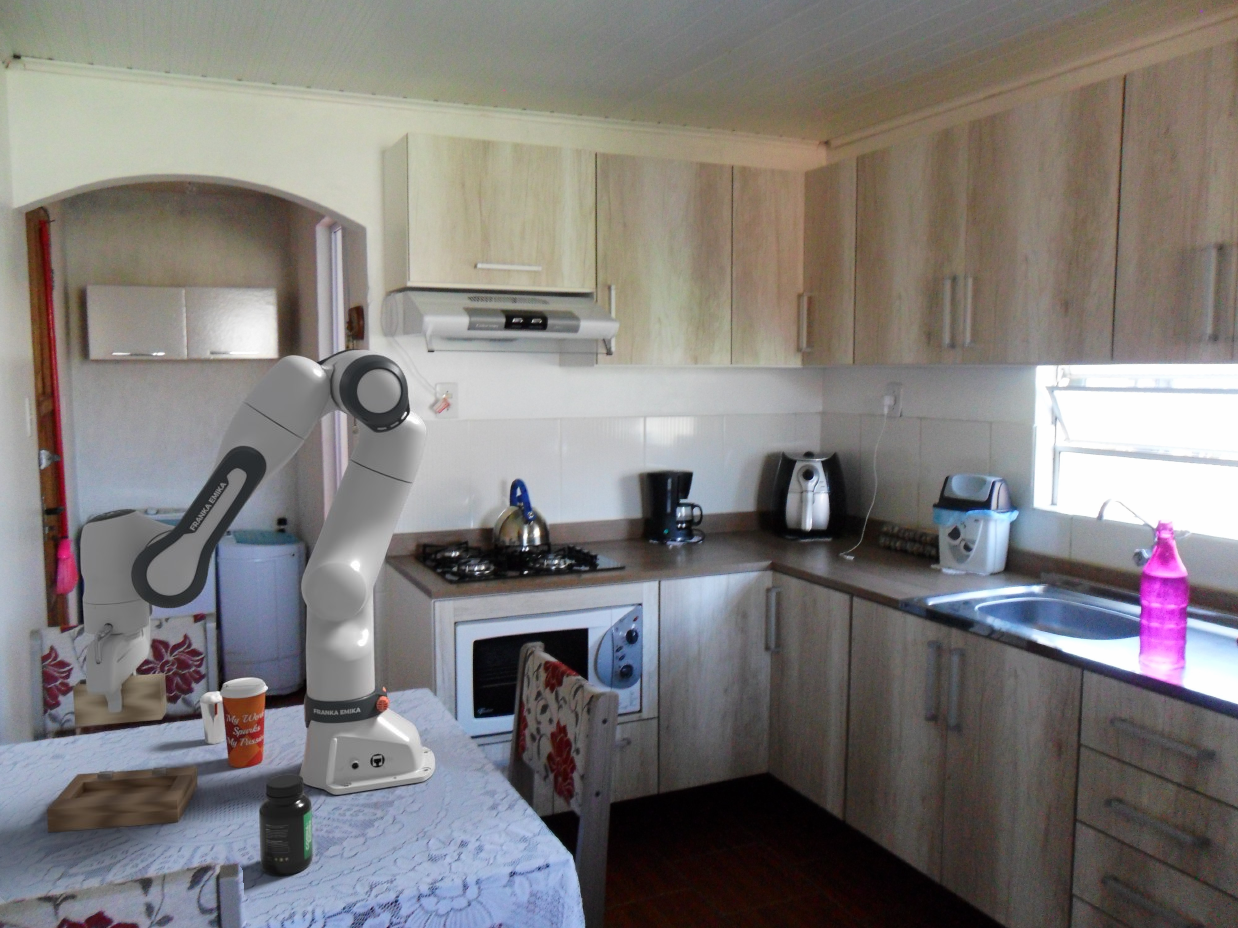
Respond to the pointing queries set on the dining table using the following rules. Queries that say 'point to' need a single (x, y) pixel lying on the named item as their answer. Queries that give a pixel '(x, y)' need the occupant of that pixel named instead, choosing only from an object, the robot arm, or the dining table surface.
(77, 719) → the door
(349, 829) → the dining table surface
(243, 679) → the paper cup
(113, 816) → the frame
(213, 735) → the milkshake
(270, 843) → the supplement bottle
